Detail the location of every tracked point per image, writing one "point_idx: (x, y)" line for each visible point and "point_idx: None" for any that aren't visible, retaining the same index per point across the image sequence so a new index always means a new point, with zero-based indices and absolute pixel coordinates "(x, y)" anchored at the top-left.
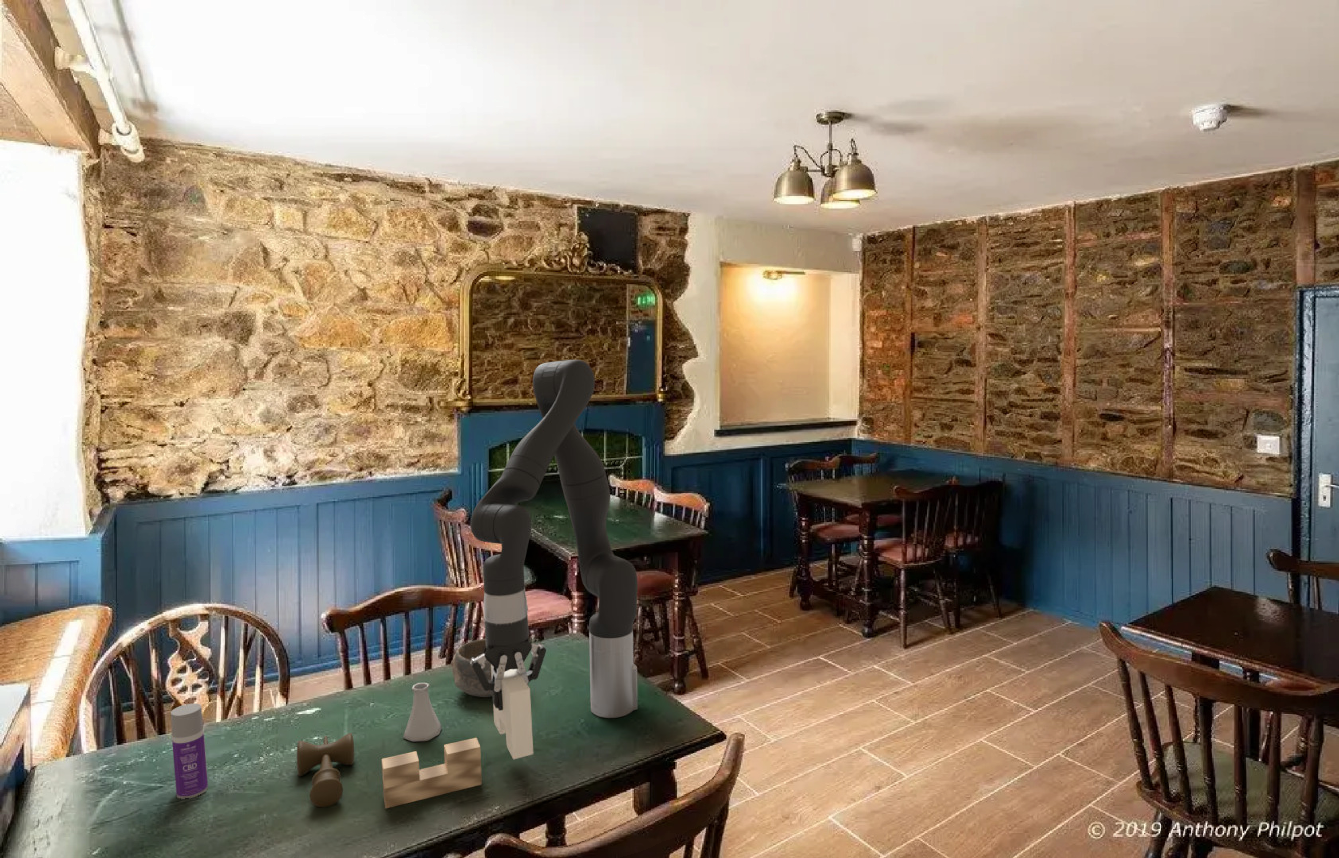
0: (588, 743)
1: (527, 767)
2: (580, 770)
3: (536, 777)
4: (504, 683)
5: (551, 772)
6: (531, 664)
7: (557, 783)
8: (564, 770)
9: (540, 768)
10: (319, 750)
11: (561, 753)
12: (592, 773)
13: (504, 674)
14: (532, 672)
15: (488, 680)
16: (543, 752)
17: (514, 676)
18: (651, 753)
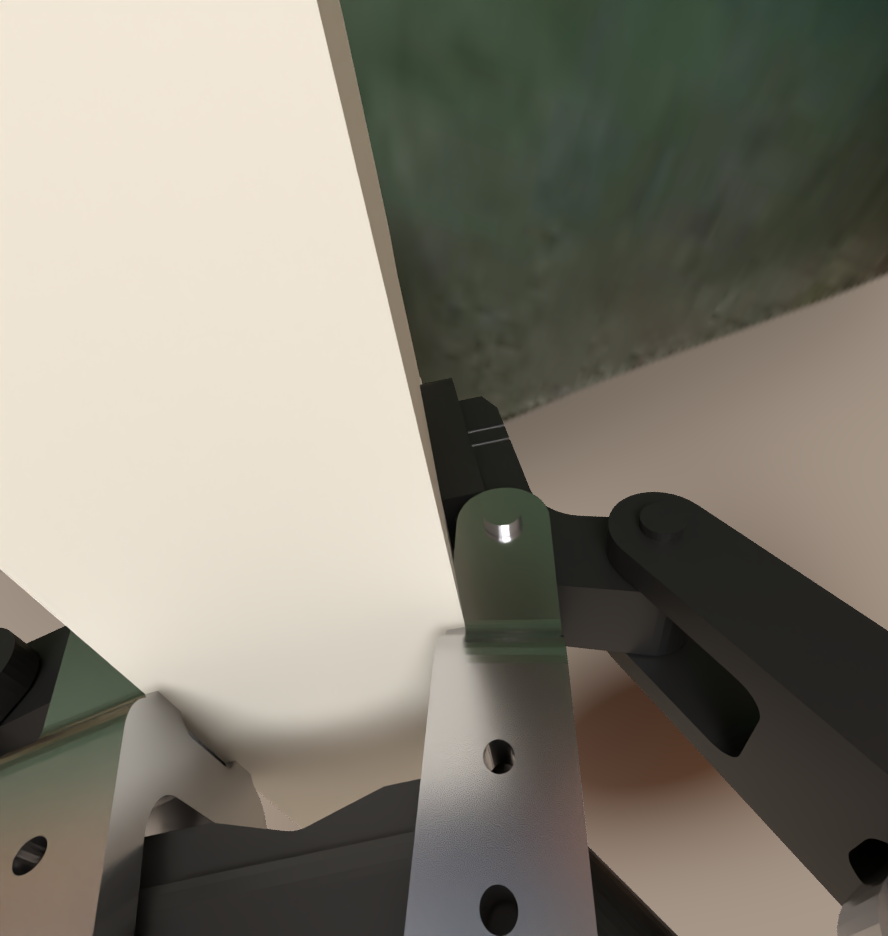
0: (729, 90)
1: (409, 243)
2: (602, 323)
3: (438, 330)
4: (291, 812)
5: (499, 309)
6: (725, 656)
7: (503, 383)
8: (548, 308)
9: (462, 267)
10: None
11: (578, 156)
12: (631, 352)
13: (257, 694)
14: (642, 683)
15: (32, 722)
16: (500, 113)
17: (406, 730)
18: (876, 274)
